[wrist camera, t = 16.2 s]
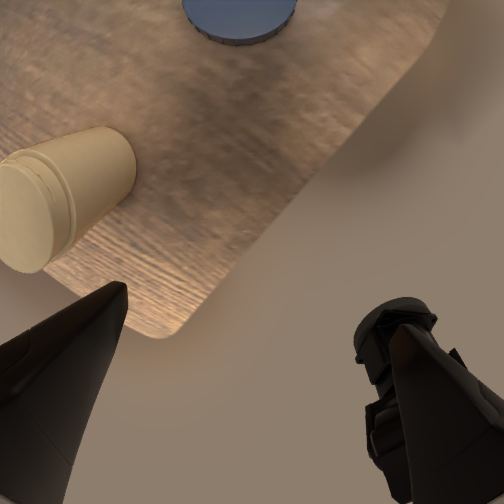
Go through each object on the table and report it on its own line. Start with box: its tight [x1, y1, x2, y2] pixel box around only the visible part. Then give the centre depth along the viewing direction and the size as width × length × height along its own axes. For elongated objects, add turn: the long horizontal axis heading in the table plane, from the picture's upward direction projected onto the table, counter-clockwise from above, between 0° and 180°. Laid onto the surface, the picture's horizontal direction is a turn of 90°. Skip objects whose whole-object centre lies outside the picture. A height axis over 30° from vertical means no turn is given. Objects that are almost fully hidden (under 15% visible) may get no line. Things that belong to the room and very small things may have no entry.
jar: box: [0, 126, 136, 273], centre depth 15 cm, size 6×6×10 cm
